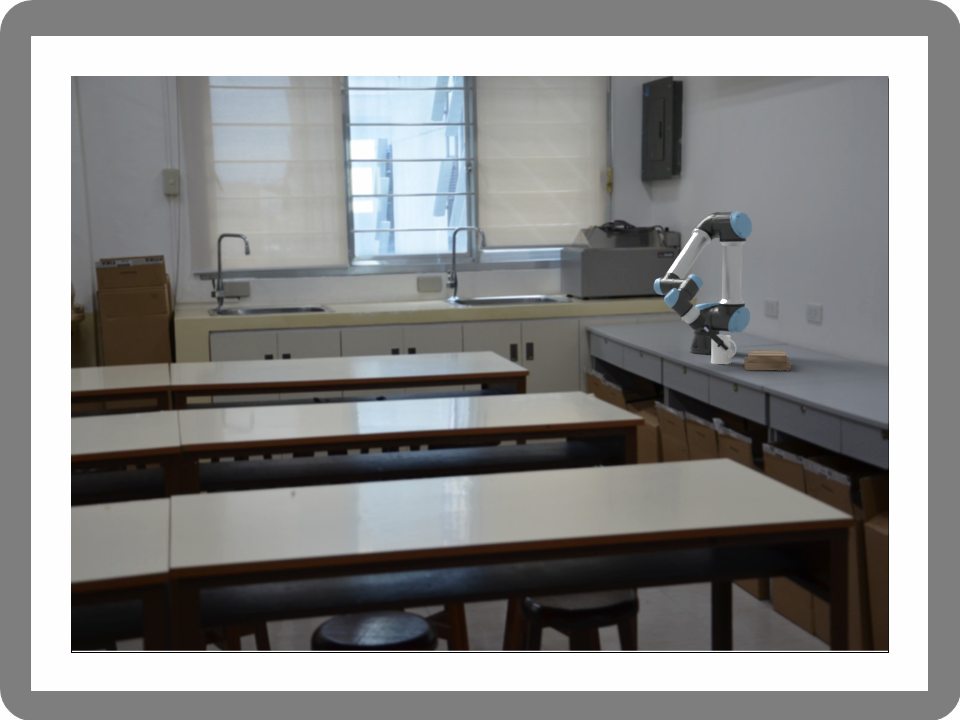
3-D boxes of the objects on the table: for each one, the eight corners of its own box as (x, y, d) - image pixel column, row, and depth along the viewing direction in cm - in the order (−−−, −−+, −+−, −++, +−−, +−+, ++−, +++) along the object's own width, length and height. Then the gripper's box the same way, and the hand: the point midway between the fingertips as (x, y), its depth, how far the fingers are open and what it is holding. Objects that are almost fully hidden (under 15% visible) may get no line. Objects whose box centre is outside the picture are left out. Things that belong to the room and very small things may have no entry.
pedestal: (744, 363, 412) (744, 349, 411) (788, 363, 408) (788, 350, 407) (744, 370, 394) (745, 356, 393) (790, 371, 390) (791, 356, 389)
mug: (741, 363, 412) (741, 336, 410) (728, 366, 407) (729, 338, 405) (719, 361, 421) (719, 334, 419) (706, 363, 416) (706, 335, 414)
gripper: (684, 321, 425) (718, 354, 426) (692, 327, 400) (728, 362, 401) (696, 309, 423) (730, 342, 424) (705, 314, 399) (741, 350, 400)
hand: (729, 352), depth 413 cm, fingers open, 12 cm apart
